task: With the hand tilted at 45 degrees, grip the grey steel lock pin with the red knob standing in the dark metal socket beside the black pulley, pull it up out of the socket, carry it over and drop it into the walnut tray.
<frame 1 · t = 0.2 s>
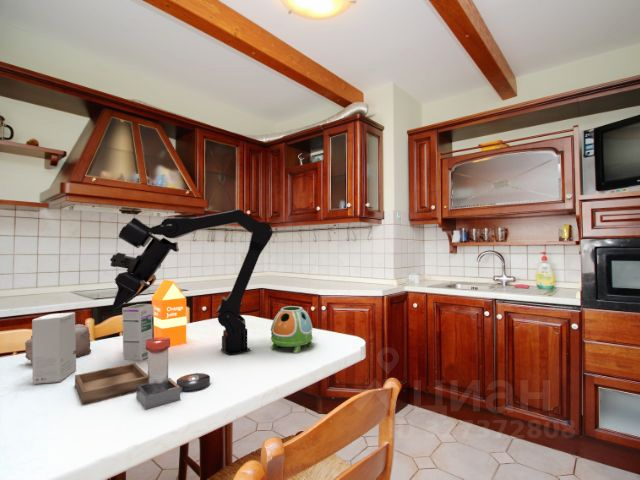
hand: (119, 305, 97), 15 cm above the table, tool tilted 35°, fingers open, 9 cm apart
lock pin: (158, 369, 72), in the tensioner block
turtle holder: (293, 346, 109), on the table
food item: (59, 360, 98), on the table
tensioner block: (158, 398, 72), on the table
skincare box: (55, 378, 84), on the table
syrup box: (138, 357, 99), on the table
orange juice: (169, 343, 113), on the table
tray: (111, 387, 78), on the table
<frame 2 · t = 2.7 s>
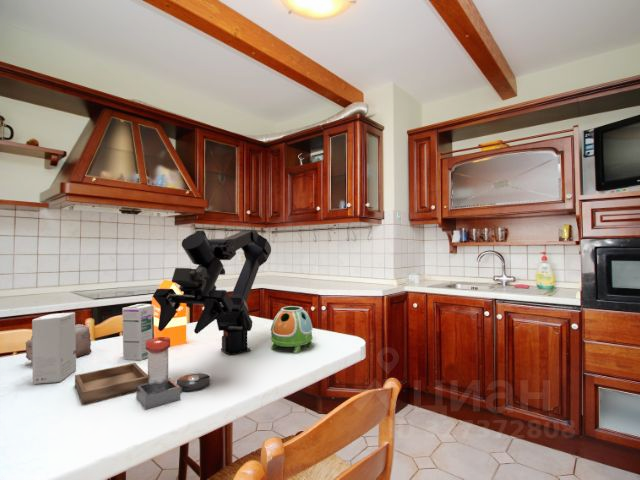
hand: (177, 331, 78), 12 cm above the table, tool tilted 45°, fingers open, 9 cm apart
nothing on the table moved.
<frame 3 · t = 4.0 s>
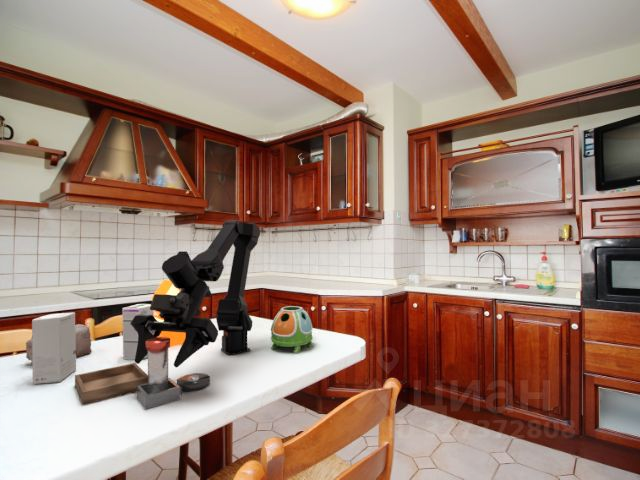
hand: (155, 364, 71), 7 cm above the table, tool tilted 45°, fingers open, 9 cm apart
nothing on the table moved.
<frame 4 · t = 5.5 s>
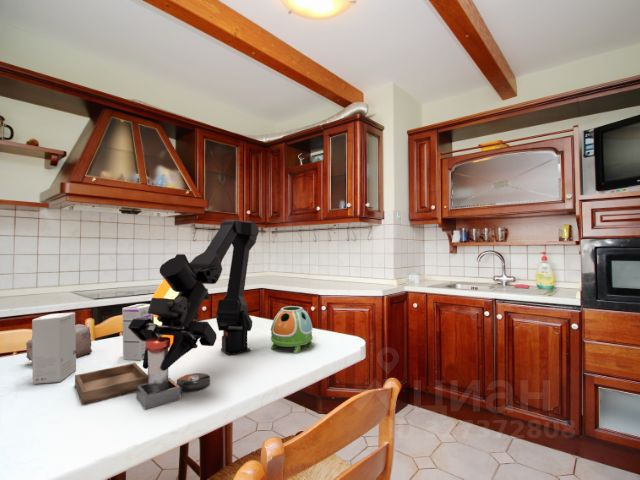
hand: (153, 368, 71), 7 cm above the table, tool tilted 45°, fingers closed on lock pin, 4 cm apart
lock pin: (158, 369, 72), in the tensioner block, touching gripper
everything else where it was.
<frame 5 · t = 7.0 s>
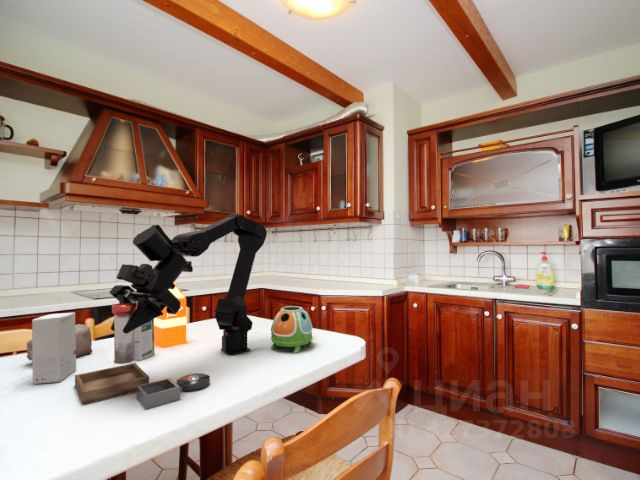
hand: (118, 331, 74), 13 cm above the table, tool tilted 45°, fingers closed on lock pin, 4 cm apart
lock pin: (124, 332, 75), point 13 cm above the table, touching gripper
everything else where it was.
when the fingers open (9 cm above the table, at t = 8.9 s): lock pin drops 1 cm, resting on tray.
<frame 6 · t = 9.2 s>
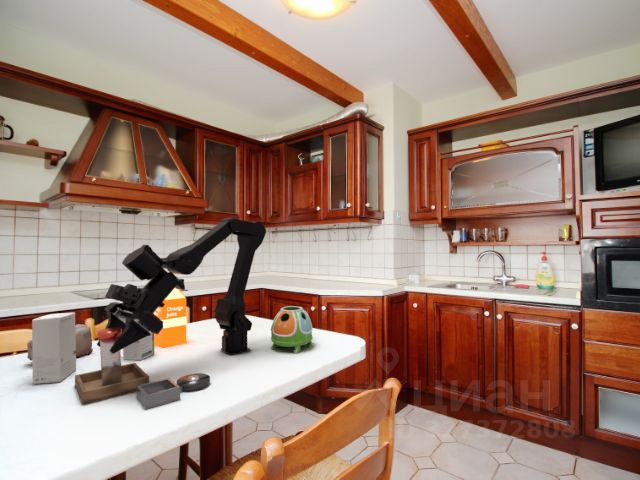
hand: (104, 349, 77), 9 cm above the table, tool tilted 45°, fingers open, 7 cm apart
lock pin: (110, 357, 78), in the tray, point 7 cm above the table
everything else where it was.
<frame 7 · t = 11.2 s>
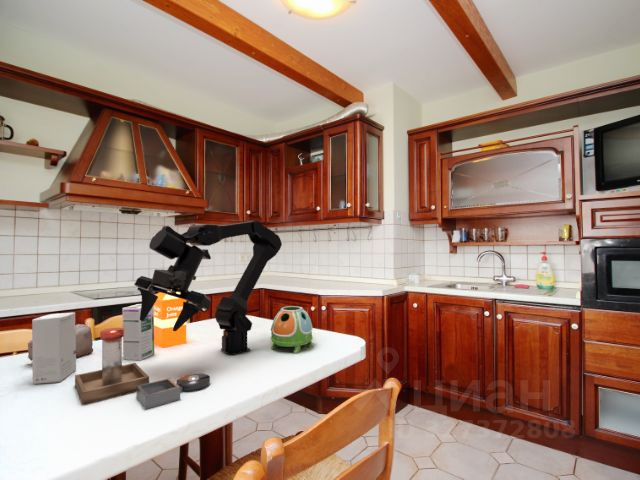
hand: (157, 325, 85), 12 cm above the table, tool tilted 30°, fingers open, 9 cm apart
nothing on the table moved.
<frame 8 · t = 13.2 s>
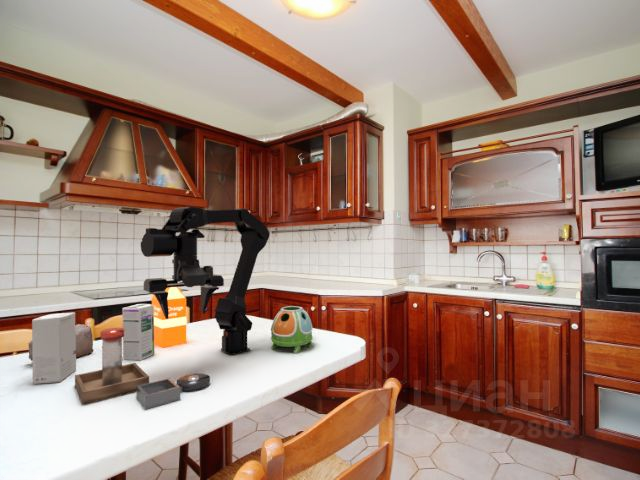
hand: (185, 316, 91), 13 cm above the table, tool pointing down, fingers open, 9 cm apart
nothing on the table moved.
at the end: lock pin 0.1 cm from the tray (horizontally); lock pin point 6.6 cm above the table; the gripper is holding nothing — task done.
